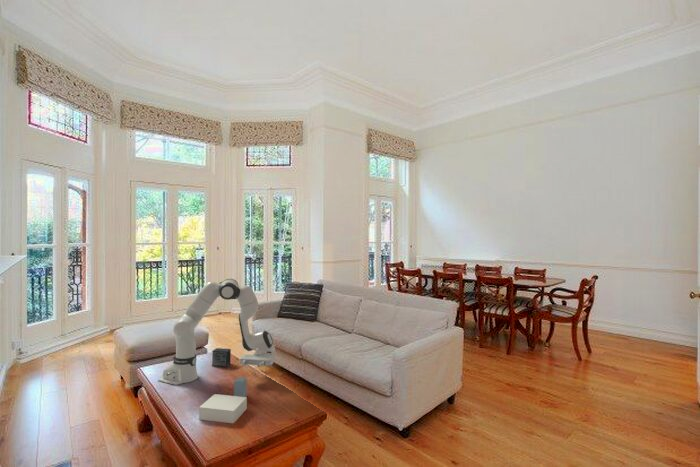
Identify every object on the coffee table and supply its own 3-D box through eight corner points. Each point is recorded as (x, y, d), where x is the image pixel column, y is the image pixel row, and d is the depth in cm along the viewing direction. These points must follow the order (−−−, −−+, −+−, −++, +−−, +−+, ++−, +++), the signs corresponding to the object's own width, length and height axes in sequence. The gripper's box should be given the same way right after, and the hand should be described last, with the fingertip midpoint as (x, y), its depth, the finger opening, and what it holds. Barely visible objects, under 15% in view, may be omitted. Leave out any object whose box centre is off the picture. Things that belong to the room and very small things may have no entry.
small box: (231, 363, 242) (231, 348, 242) (226, 367, 236) (227, 351, 236) (216, 362, 243) (216, 347, 243) (211, 366, 237) (212, 350, 237)
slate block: (233, 399, 192) (234, 380, 192) (238, 394, 197) (238, 377, 197) (242, 400, 191) (242, 381, 191) (246, 395, 196) (246, 377, 196)
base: (198, 419, 171) (199, 407, 171) (214, 405, 184) (214, 394, 184) (233, 423, 168) (233, 410, 168) (246, 408, 182) (246, 397, 182)
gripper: (245, 350, 221) (234, 358, 207) (275, 352, 218) (267, 360, 204) (245, 360, 221) (234, 369, 207) (275, 362, 218) (267, 371, 204)
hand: (251, 365), depth 206 cm, fingers open, 8 cm apart
